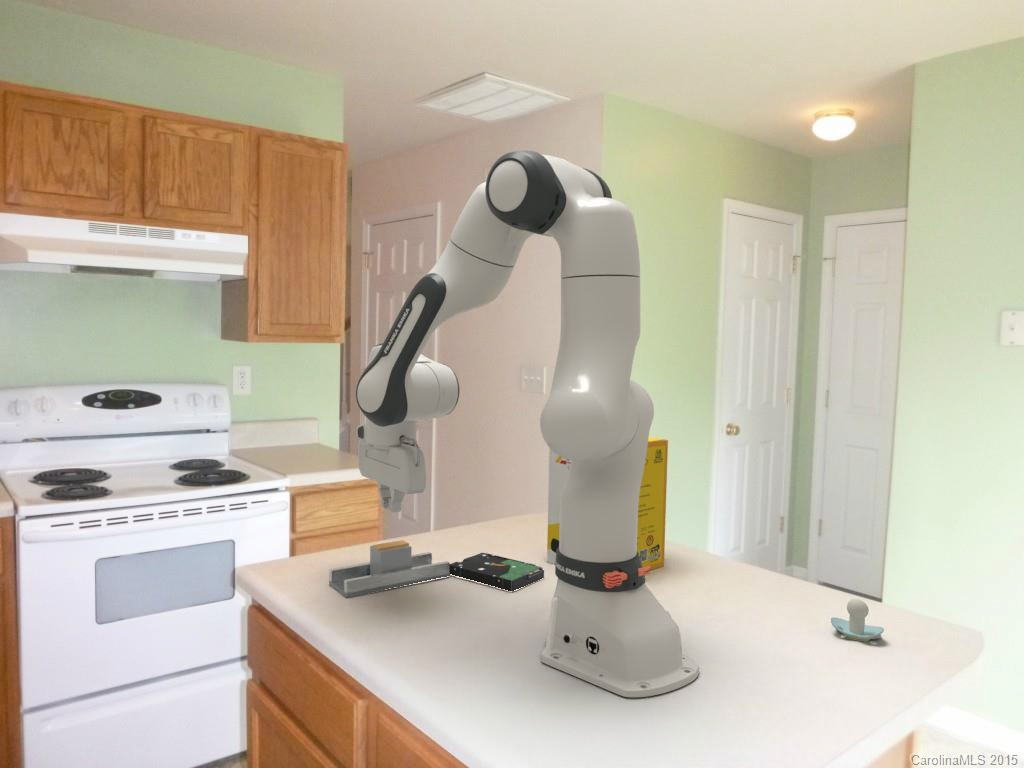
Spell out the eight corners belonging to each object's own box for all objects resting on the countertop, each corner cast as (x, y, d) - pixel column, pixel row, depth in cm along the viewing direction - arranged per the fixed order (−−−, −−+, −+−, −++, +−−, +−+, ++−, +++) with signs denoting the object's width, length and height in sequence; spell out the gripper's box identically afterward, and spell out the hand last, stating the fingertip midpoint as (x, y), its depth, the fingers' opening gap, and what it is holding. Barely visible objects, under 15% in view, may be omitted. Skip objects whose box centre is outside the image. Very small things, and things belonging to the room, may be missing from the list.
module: (411, 577, 136) (411, 544, 136) (380, 583, 133) (380, 549, 132) (400, 570, 140) (400, 538, 140) (370, 576, 136) (370, 543, 136)
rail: (449, 577, 139) (449, 562, 139) (346, 598, 128) (347, 581, 127) (428, 566, 146) (428, 551, 145) (329, 584, 134) (329, 569, 134)
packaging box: (546, 562, 149) (549, 436, 148) (601, 547, 160) (604, 430, 159) (609, 583, 137) (613, 447, 136) (664, 566, 148) (668, 439, 147)
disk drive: (447, 579, 140) (512, 595, 132) (447, 564, 140) (512, 579, 131) (482, 565, 149) (545, 580, 140) (482, 551, 148) (545, 565, 140)
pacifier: (835, 626, 120) (827, 637, 115) (837, 587, 120) (830, 596, 115) (886, 636, 116) (881, 649, 111) (888, 596, 116) (883, 606, 111)
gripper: (435, 439, 128) (434, 519, 129) (383, 425, 145) (382, 496, 146) (401, 441, 124) (401, 524, 125) (352, 427, 141) (351, 500, 142)
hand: (390, 509), depth 136 cm, fingers closed
